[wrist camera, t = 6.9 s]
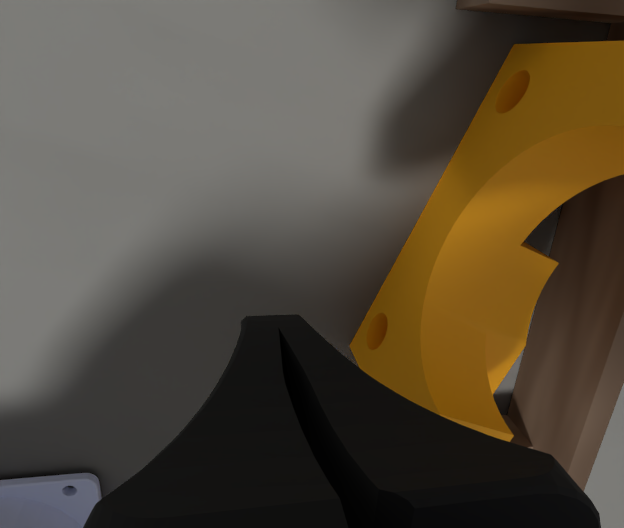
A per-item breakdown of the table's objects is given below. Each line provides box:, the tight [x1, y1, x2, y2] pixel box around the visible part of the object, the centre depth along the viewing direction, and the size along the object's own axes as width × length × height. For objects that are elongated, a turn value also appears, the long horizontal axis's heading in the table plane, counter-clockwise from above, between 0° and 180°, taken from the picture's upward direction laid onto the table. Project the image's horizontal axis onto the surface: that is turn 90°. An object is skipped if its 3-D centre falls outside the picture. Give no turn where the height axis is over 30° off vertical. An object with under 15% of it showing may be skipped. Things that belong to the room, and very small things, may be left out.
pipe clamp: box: [349, 41, 624, 442], centre depth 15 cm, size 12×4×6 cm, turn 155°
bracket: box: [456, 0, 624, 491], centre depth 17 cm, size 6×18×4 cm, turn 177°
